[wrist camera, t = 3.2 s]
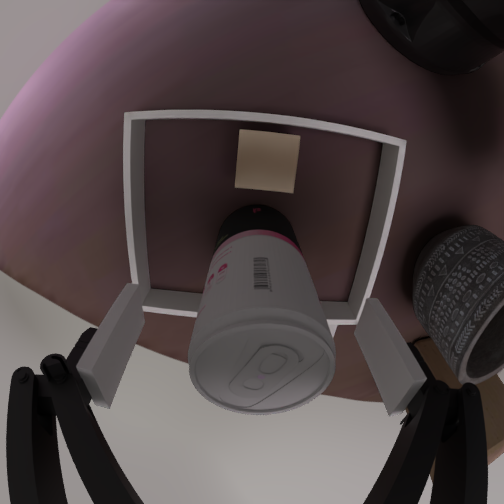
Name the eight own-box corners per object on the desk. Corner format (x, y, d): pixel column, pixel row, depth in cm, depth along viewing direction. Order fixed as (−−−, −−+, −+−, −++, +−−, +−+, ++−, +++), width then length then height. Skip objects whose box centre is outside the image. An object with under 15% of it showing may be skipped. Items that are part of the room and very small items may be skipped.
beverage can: (307, 227, 24) (369, 352, 10) (268, 283, 26) (282, 426, 13) (242, 189, 23) (229, 290, 9) (206, 252, 25) (165, 389, 11)
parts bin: (139, 113, 20) (124, 112, 17) (389, 138, 20) (406, 140, 18) (145, 292, 27) (136, 310, 24) (351, 306, 28) (359, 324, 25)
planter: (446, 315, 29) (495, 383, 17) (379, 300, 27) (431, 390, 16) (490, 233, 24) (560, 285, 12) (429, 195, 23) (522, 252, 11)
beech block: (241, 129, 21) (239, 129, 17) (292, 134, 21) (300, 135, 17) (237, 177, 22) (234, 187, 19) (286, 182, 22) (293, 193, 19)
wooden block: (392, 385, 35) (433, 496, 16) (412, 338, 30) (478, 464, 12) (441, 372, 34) (488, 465, 16) (464, 326, 30) (532, 426, 12)
